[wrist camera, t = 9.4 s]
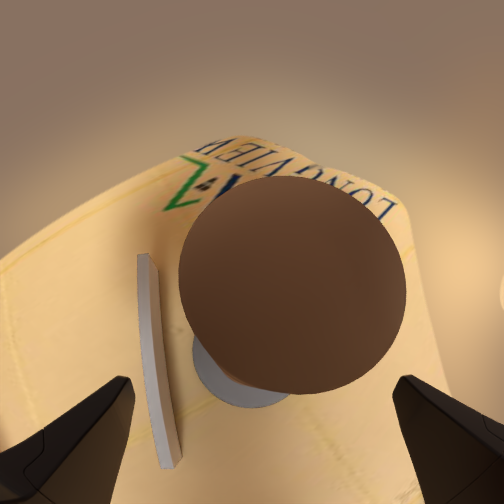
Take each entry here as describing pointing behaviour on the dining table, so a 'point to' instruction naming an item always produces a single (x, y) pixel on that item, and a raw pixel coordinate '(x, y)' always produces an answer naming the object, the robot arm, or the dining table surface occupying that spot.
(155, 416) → the low wall
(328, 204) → the pepper mill
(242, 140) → the dining table surface
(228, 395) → the resting pad
